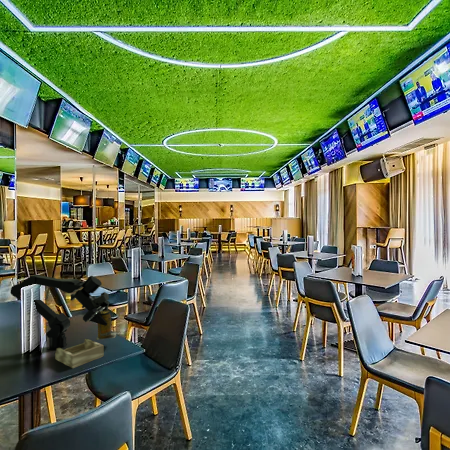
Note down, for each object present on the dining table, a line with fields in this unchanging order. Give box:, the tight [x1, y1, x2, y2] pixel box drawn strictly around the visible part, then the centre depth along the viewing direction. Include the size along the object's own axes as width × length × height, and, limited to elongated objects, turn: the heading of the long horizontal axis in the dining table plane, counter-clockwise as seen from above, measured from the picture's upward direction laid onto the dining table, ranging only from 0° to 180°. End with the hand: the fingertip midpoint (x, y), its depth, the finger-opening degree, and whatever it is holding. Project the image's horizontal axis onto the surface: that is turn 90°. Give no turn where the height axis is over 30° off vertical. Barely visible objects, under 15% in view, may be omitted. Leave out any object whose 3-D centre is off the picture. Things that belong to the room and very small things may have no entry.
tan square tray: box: [54, 338, 105, 369], centre depth 136 cm, size 15×14×5 cm
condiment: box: [95, 310, 117, 341], centre depth 148 cm, size 7×8×12 cm
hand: (109, 322), depth 148 cm, fingers closed on condiment, 6 cm apart
